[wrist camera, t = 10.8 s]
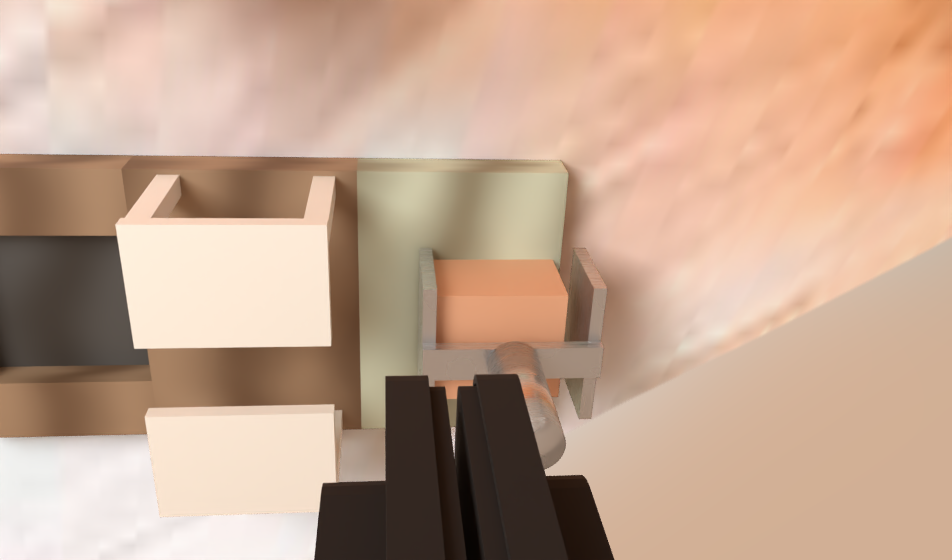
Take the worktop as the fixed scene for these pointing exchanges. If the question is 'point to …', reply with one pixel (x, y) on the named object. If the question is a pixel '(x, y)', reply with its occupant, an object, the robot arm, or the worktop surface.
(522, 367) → the slider
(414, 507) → the robot arm
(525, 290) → the block
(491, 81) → the worktop surface
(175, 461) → the toy bench
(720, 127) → the worktop surface
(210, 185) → the board
